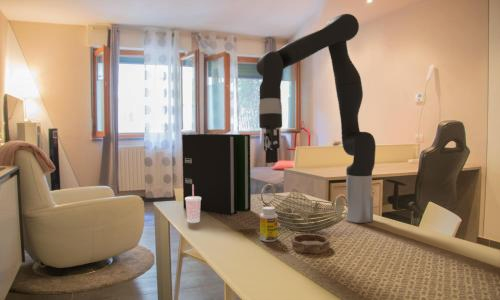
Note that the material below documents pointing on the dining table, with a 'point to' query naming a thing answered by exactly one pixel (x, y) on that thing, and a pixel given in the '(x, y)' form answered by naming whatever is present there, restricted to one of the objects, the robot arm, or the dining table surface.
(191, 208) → the beverage cup
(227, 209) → the binder
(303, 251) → the collar dish
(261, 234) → the supplement bottle
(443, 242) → the dining table surface
